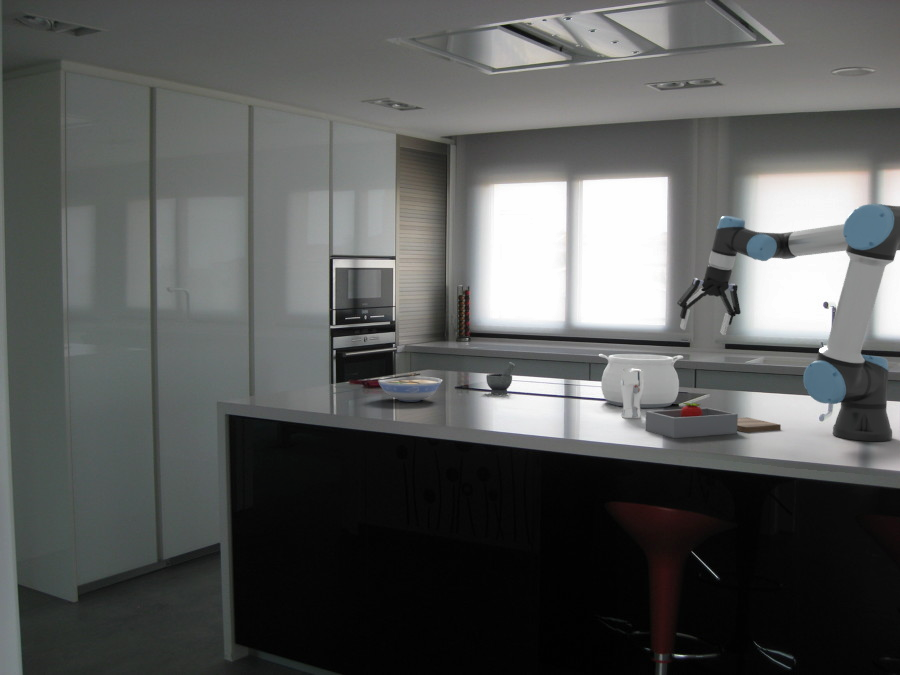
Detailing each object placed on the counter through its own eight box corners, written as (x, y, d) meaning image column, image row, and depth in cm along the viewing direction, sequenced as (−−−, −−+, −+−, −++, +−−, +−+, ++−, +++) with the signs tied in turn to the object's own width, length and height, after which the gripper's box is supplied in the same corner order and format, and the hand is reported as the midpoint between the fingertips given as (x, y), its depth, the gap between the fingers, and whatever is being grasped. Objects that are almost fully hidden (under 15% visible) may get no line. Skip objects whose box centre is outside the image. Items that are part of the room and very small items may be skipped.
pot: (675, 399, 321) (677, 352, 319) (688, 410, 294) (689, 359, 293) (594, 397, 324) (596, 350, 322) (599, 408, 297) (601, 357, 296)
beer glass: (626, 419, 275) (627, 371, 274) (616, 415, 281) (617, 369, 280) (646, 418, 277) (647, 370, 276) (636, 415, 283) (637, 368, 282)
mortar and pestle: (481, 393, 331) (482, 361, 330) (492, 391, 339) (492, 359, 338) (509, 396, 326) (510, 363, 325) (519, 393, 334) (519, 361, 333)
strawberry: (676, 432, 252) (677, 397, 251) (684, 428, 259) (685, 395, 258) (697, 434, 249) (698, 399, 248) (705, 431, 255) (706, 396, 255)
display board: (780, 429, 259) (780, 424, 259) (745, 432, 254) (745, 427, 254) (746, 422, 272) (747, 417, 272) (712, 424, 267) (713, 419, 267)
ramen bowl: (412, 407, 294) (412, 383, 293) (361, 401, 307) (361, 377, 307) (457, 400, 313) (457, 377, 313) (407, 394, 327) (408, 372, 327)
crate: (737, 433, 252) (737, 414, 252) (673, 438, 244) (674, 418, 243) (706, 426, 264) (707, 407, 264) (645, 430, 255) (646, 411, 255)
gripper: (752, 268, 278) (734, 332, 285) (677, 258, 274) (661, 322, 281) (762, 275, 271) (744, 339, 278) (686, 264, 267) (669, 330, 274)
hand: (702, 331), depth 279 cm, fingers open, 13 cm apart
